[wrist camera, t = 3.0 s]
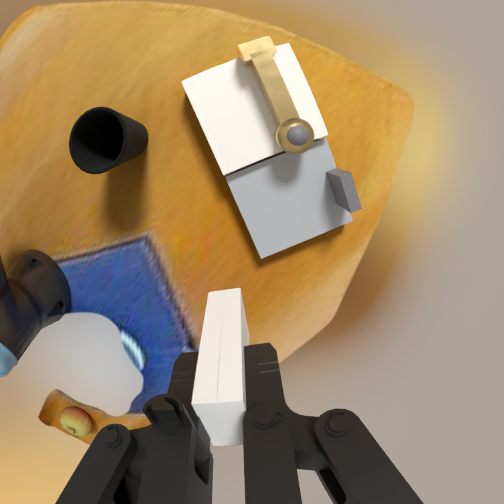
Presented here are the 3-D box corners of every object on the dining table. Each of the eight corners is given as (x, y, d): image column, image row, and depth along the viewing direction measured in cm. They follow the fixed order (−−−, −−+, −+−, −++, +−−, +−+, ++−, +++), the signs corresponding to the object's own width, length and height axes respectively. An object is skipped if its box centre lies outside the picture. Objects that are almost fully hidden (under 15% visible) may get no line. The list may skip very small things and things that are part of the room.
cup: (161, 119, 36) (134, 111, 25) (148, 168, 39) (118, 179, 28) (115, 111, 35) (76, 104, 24) (103, 159, 37) (63, 168, 26)
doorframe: (259, 251, 45) (266, 277, 36) (186, 87, 35) (174, 73, 26) (345, 215, 44) (370, 233, 35) (282, 52, 33) (296, 31, 25)
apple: (89, 425, 62) (83, 445, 55) (62, 409, 59) (54, 428, 52) (98, 414, 60) (91, 436, 52) (68, 397, 57) (59, 417, 50)
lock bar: (281, 157, 35) (286, 159, 32) (235, 53, 29) (236, 45, 26) (312, 146, 34) (319, 146, 32) (267, 42, 29) (270, 35, 26)
